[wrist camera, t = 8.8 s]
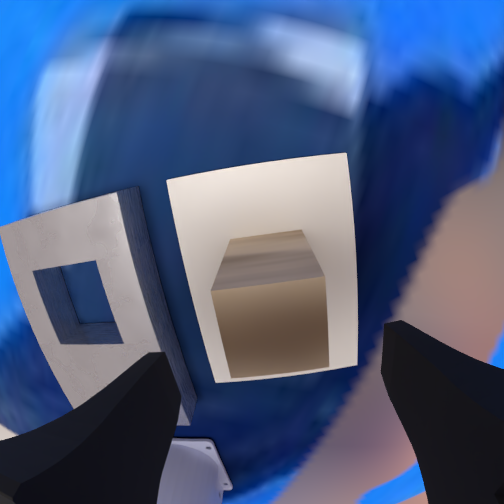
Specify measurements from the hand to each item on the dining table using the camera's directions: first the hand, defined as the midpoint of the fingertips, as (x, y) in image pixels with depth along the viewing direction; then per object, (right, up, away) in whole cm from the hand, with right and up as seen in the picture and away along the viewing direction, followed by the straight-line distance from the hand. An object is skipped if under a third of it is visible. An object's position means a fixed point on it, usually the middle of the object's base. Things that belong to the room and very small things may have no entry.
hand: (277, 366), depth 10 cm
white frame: (-11, -1, +11) cm, 15 cm away
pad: (0, +2, +9) cm, 10 cm away
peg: (0, +3, +8) cm, 9 cm away
